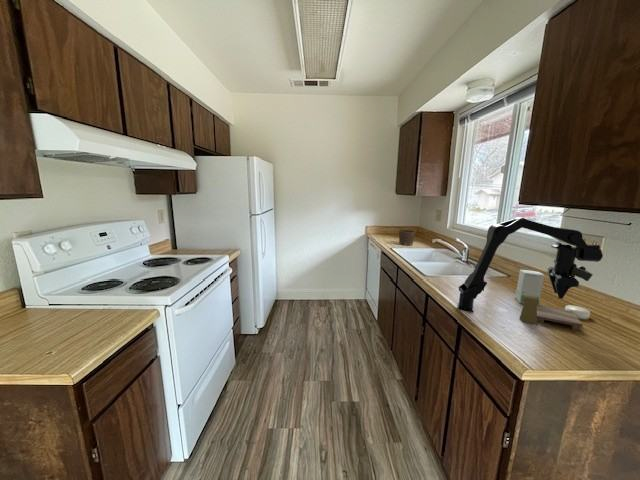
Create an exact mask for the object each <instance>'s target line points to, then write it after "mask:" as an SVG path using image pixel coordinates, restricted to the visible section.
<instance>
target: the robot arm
mask: <svg viewBox="0 0 640 480" xmlns="http://www.w3.org/2000/svg"><path fill="white" fill-rule="evenodd" d="M522 228H523V229H526V230H528V231H529V230H530V231H533V232H536V233H540V234H543V235H547V236H549V237H551V238H553V239H555V240H556V241H557V242H556V243H554V244H552V245H551V248H554V249H557V251H556V254H555V259H554V260H553V263H554V265H553V266H550V267H548V268H547V270H546V272H547V274H548V278H549V280H550V284H551V286H552V289H553V292H554V293H555V294H557V297H558V299H561V300H562V299H564V297H565V295H566V294H567V293H568V290H569V289H571V288H575V287H576V288H578V287H579V285H580V281H579V280H578V279H577V278H580V279H583V280H584V281H586V282H588V281H590V280H591V278H592V276H593V275H594V274H593V273H592V272H590V271H588V270H587V268H586V267H585V266H582V265H578V266H577V264H576V263H575V261H576V260H577V261H581V262H596V263H598V262H600V261H602V259H603V252H602V249H601V245H600V244H587V243H586V241H585V239H584V238H583V233H582V231H579V230H577V229H576V230H575V229H572V228H565V227H556V226H551V225H548V224H544V223H541V222H536V221H533V220H531V219H526V218H525V217H519V216H518V217H517V216H516V217H514V218H512V219H510V220H506V221H503V222H500V223H495V224H491V225H490V226H489V227H488V229H487V234H486V243H485V245H484V247H483V250H482V252H481V254H480V257H479V258H478V261H477V263H476V265H475V266H474V267H475V268H474V269H473V272H472V273H470V274H469V275H468V276H467V278H466V279H465V281H464V283H462V284H461V285H460V286H458V291H459V292H460V293H459V299H458V302H457V306H456V308H457V310H463V311H468V312H472V313H474V311H475V310H474V309H475V306H474V300H475V299H477V297H478V295H480V294H481V293H482V292H485V288H486V286H487V285H488V282H487V281H486V280H485V276H486V274H487V272H488V269H489V267H490V265H491V263H492V260H493V258H494V256H495V254H496V252H497V250H498V248H499V246H500V245H502V244H503V243H504V242H505V241H506V239H507V238H508V236H509V235H512V234H513V233H515V232H517V231H519V230H520V229H522ZM561 242H562V243H564V244H562V243H561ZM574 246H575V247H574ZM576 277H577V278H576Z"/></svg>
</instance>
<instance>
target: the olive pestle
mask: <svg viewBox="0 0 640 480" xmlns="http://www.w3.org/2000/svg"><path fill="white" fill-rule="evenodd" d="M523 301H524V303H523V306H522V309H521V312H520V315H519V318H518V319H519V321H521V322H523V323H525V324H529V325H537V324H538V322H537V305H538V304H539V305H540V300H539V299H538V298H537V297H535V296H530V295H526V296H524V298H523Z"/></svg>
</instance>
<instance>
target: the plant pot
mask: <svg viewBox="0 0 640 480" xmlns="http://www.w3.org/2000/svg"><path fill="white" fill-rule="evenodd" d="M416 232H417V231H415V230H412V229H411V230H410V229H398V238H399V241H398V242H399V245H400V246H405V247H412V246H413V243H414V239H415V235H416Z"/></svg>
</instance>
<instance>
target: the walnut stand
mask: <svg viewBox="0 0 640 480" xmlns="http://www.w3.org/2000/svg"><path fill="white" fill-rule="evenodd" d="M580 320H581V319H579V318H577V317H576V315H575V314H574V313H573V312H572V311H568V310H565V309H562V308H557V307H556V308H555V307H550V306H546V305H545V306H544V305H540V304H539V305H537V324H538V323H539V324H545V323H544V322H545V321H550V322H555V323H560V324H565V325H570V328H571V330H573V331H578V332H579V331H580V329H581V328H583V326H584V325H583V323H582V322H581V321H580Z"/></svg>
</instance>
